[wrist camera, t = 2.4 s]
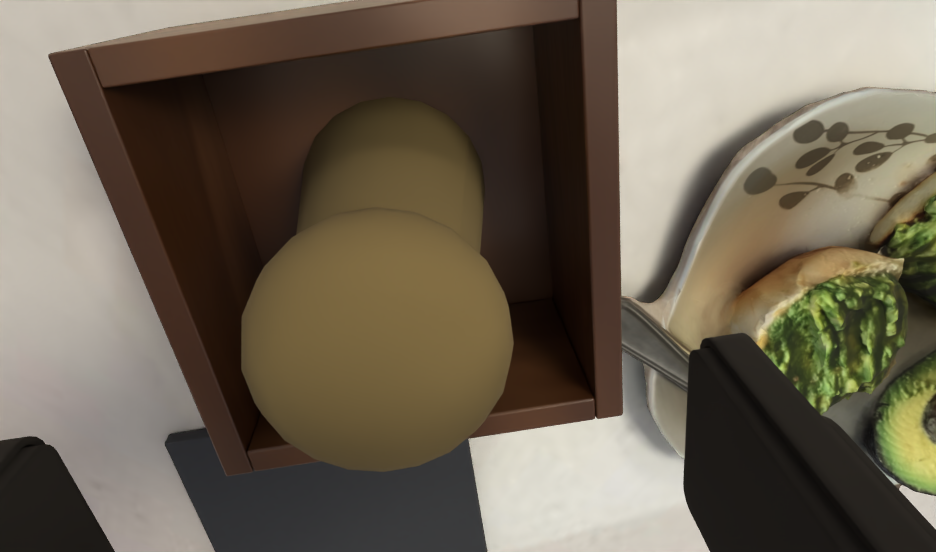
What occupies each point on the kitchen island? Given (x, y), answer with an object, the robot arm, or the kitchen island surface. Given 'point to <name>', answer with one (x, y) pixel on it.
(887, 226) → the avocado toast plate
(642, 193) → the kitchen island surface
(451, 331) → the cork
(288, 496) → the mat
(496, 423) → the bin
